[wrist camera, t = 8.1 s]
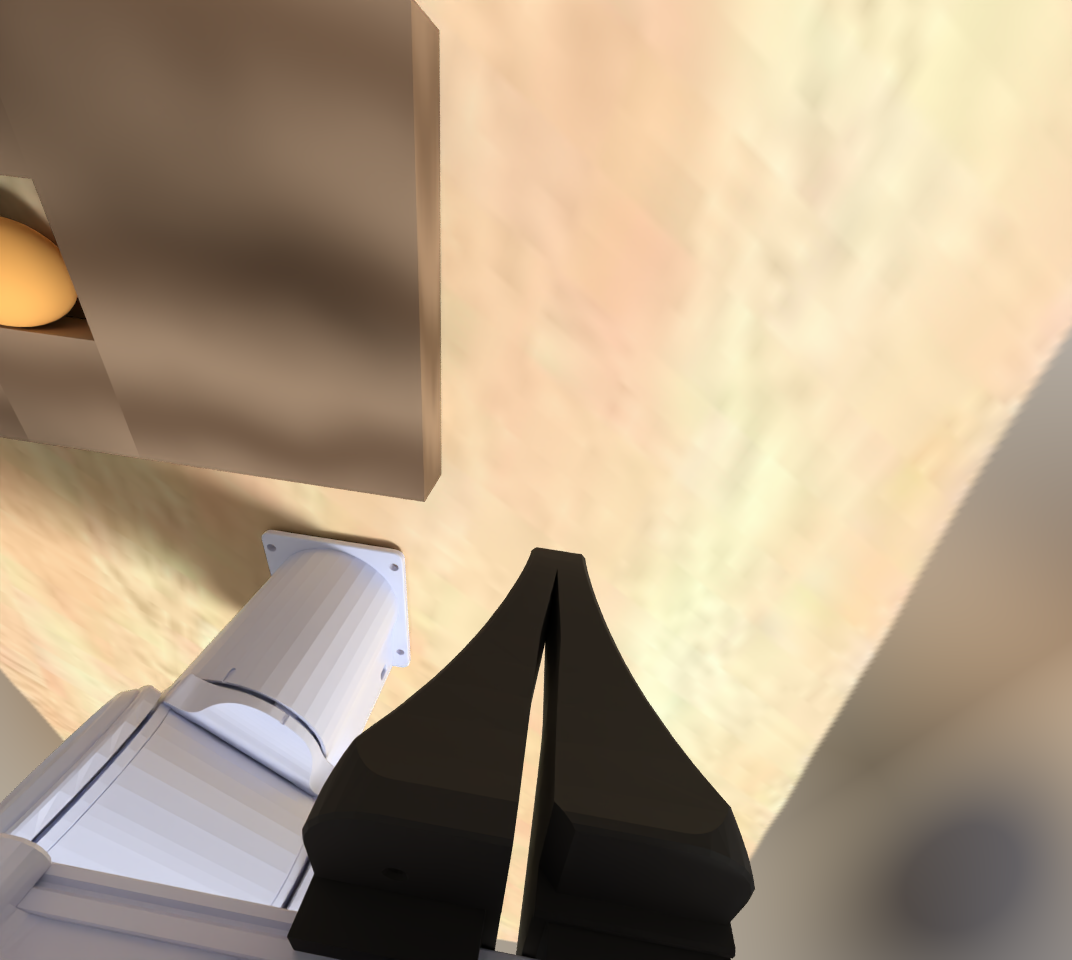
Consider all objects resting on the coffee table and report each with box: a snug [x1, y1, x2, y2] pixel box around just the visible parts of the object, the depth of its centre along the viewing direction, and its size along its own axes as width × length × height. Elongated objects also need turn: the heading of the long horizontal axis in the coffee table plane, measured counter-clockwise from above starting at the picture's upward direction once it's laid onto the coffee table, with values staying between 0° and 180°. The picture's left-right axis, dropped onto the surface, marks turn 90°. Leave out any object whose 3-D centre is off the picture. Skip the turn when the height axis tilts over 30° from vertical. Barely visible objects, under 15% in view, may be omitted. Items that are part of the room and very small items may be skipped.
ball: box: [0, 216, 77, 327], centre depth 17 cm, size 4×4×4 cm
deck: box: [0, 0, 441, 502], centre depth 18 cm, size 16×22×2 cm
